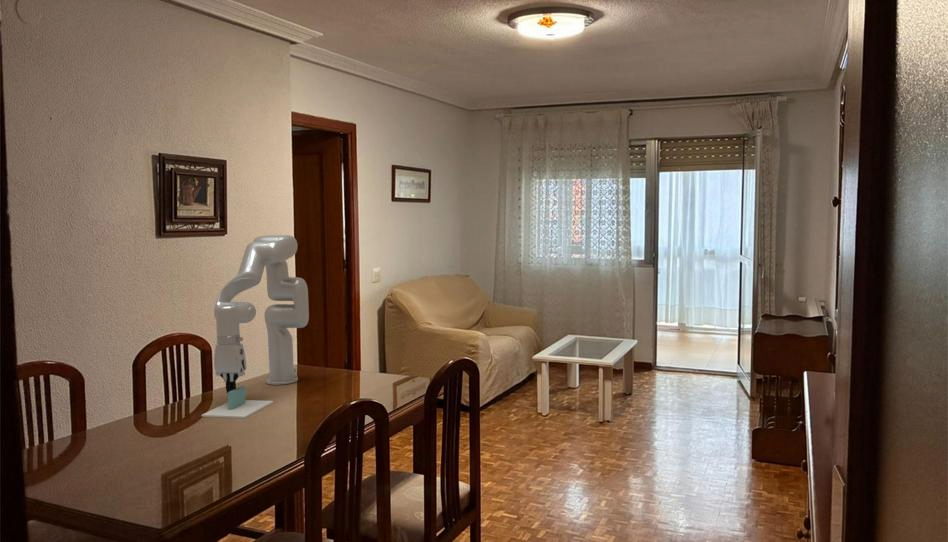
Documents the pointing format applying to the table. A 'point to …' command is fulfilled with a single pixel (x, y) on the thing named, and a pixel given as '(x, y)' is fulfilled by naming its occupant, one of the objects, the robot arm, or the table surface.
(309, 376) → the table surface
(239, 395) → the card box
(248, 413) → the mat
